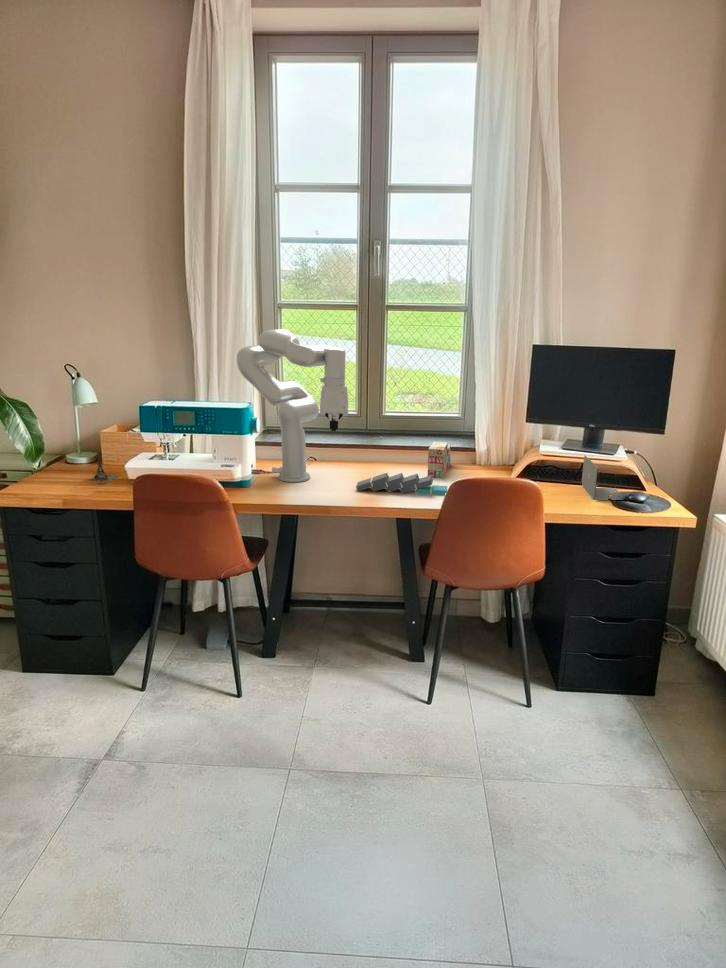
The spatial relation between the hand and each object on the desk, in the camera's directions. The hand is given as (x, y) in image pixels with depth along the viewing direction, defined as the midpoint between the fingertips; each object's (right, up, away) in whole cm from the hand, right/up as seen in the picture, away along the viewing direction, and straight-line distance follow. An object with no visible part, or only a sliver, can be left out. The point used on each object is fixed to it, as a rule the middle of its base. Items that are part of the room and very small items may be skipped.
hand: (333, 430), depth 248 cm
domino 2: (+15, -21, +5) cm, 26 cm away
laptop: (+102, -24, +3) cm, 105 cm away
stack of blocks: (+43, -15, +31) cm, 55 cm away
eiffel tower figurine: (-93, -19, +17) cm, 97 cm away
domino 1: (+9, -21, +5) cm, 24 cm away
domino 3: (+20, -21, +5) cm, 30 cm away
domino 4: (+26, -22, +4) cm, 34 cm away
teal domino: (+31, -22, +3) cm, 38 cm away
